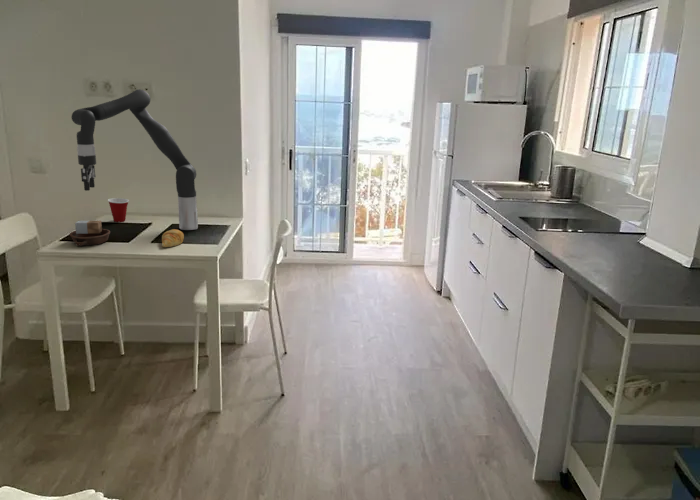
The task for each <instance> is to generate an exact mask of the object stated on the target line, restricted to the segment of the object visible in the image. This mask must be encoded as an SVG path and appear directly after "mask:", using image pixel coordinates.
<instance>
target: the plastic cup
mask: <svg viewBox="0 0 700 500" xmlns="http://www.w3.org/2000/svg"><path fill="white" fill-rule="evenodd" d="M107 202H108V204H109V208H110V211H111V216H112V219H113V222H115V223H124V222H126V217H127V210H128V205H129V202H130V199H127V198H122V197H121V198H120V197H111V198H108V199H107Z"/></svg>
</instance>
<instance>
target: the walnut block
mask: <svg viewBox="0 0 700 500" xmlns="http://www.w3.org/2000/svg"><path fill="white" fill-rule="evenodd" d="M88 221H89V222H87V231H88V233H100V232H101V231H102V229H103V227H102V226H103V225H102V220H88Z"/></svg>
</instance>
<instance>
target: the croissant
mask: <svg viewBox="0 0 700 500" xmlns="http://www.w3.org/2000/svg"><path fill="white" fill-rule="evenodd" d="M184 238H185V234H184V232H183V231H181V230H179V229H177V228H176V229H175V228H172V229H170V230H167V231H165V232H163V234H162V235H161V247H162V248H170V247H176V246H179V245H181V244H182V243H183V242H184Z"/></svg>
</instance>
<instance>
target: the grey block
mask: <svg viewBox="0 0 700 500" xmlns="http://www.w3.org/2000/svg"><path fill="white" fill-rule="evenodd" d="M89 221H90V220H78V221H76V222H75V223H74V224H75V225H74V226H75V231H76V234H88V231H87V222H89Z"/></svg>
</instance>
